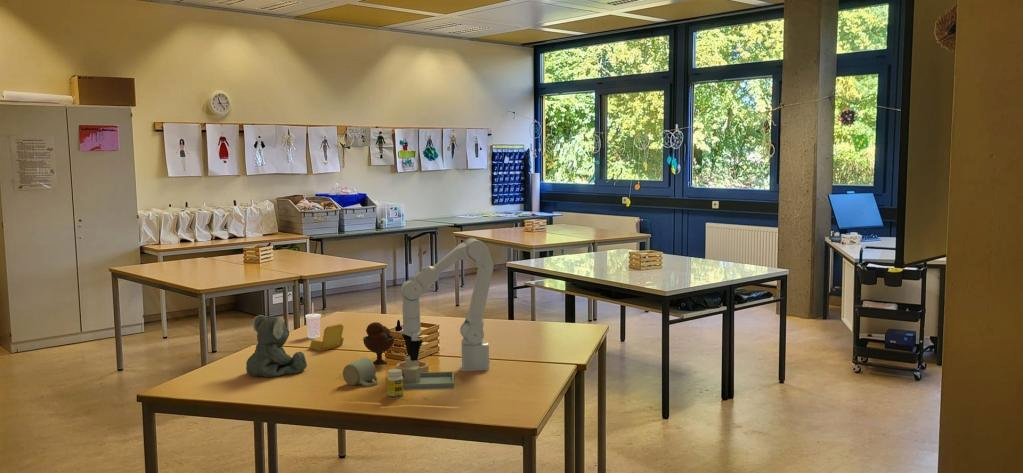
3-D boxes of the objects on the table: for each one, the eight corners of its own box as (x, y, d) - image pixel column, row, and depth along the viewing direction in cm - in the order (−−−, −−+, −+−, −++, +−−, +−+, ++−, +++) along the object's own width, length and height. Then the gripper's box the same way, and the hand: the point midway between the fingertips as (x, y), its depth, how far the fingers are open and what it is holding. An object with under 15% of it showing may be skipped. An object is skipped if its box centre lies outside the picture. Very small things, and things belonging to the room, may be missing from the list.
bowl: (429, 368, 266) (428, 360, 266) (428, 377, 256) (428, 368, 255) (397, 369, 265) (397, 361, 265) (395, 378, 255) (395, 369, 254)
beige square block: (420, 381, 249) (420, 366, 249) (416, 385, 245) (416, 369, 245) (408, 381, 250) (407, 365, 249) (404, 384, 246) (403, 369, 245)
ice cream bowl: (389, 369, 266) (388, 325, 265) (358, 367, 268) (357, 324, 267) (400, 361, 276) (399, 319, 275) (370, 359, 279) (369, 318, 277)
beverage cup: (303, 338, 312) (302, 303, 311) (309, 335, 318) (308, 301, 317) (317, 339, 311) (316, 304, 310) (324, 335, 317) (323, 301, 316)
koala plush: (310, 371, 264) (308, 314, 262) (261, 382, 251) (259, 322, 249) (283, 362, 276) (281, 307, 274) (235, 373, 263) (232, 315, 261)
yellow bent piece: (329, 343, 305) (329, 319, 304) (346, 346, 299) (345, 322, 298) (308, 348, 297) (307, 324, 296) (324, 352, 291) (324, 327, 290)
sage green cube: (417, 369, 263) (416, 355, 262) (418, 372, 259) (418, 358, 259) (405, 370, 262) (404, 356, 261) (406, 373, 258) (406, 358, 257)
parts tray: (453, 375, 258) (453, 369, 258) (454, 390, 241) (454, 384, 241) (401, 376, 257) (401, 371, 257) (397, 392, 240) (397, 386, 240)
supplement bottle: (396, 401, 231) (395, 373, 230) (383, 398, 234) (383, 371, 233) (406, 396, 235) (406, 369, 234) (394, 394, 238) (393, 367, 237)
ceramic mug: (341, 385, 248) (340, 361, 247) (358, 378, 255) (358, 355, 254) (366, 390, 243) (366, 366, 242) (384, 383, 250) (383, 360, 249)
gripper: (396, 313, 265) (398, 353, 266) (401, 322, 251) (403, 364, 252) (417, 312, 266) (418, 351, 268) (423, 321, 252) (424, 362, 254)
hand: (412, 357), depth 260 cm, fingers open, 7 cm apart
